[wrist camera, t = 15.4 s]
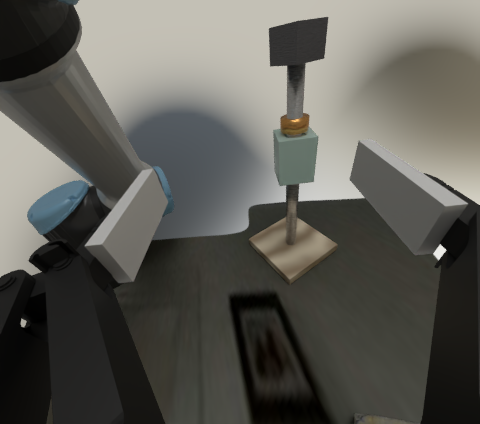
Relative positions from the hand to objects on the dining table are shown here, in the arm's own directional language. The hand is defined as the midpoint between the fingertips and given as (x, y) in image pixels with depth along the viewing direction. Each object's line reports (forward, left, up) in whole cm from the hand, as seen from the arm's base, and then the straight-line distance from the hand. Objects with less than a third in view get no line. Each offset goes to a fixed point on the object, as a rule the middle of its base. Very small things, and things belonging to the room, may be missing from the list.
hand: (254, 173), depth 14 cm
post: (-15, +18, -32) cm, 40 cm away
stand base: (-15, +18, -34) cm, 41 cm away
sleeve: (-15, +18, -14) cm, 27 cm away
